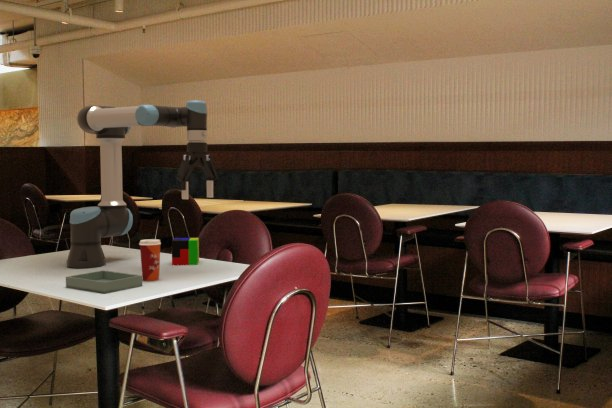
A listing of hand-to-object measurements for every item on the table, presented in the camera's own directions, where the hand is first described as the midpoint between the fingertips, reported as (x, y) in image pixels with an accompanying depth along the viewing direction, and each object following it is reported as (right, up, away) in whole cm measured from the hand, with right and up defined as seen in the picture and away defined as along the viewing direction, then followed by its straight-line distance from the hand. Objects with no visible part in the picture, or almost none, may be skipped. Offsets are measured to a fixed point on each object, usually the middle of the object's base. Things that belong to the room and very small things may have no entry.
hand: (197, 198), depth 258 cm
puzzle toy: (-8, -27, +20) cm, 34 cm away
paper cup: (-14, -29, -17) cm, 36 cm away
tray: (-27, -30, -30) cm, 50 cm away
